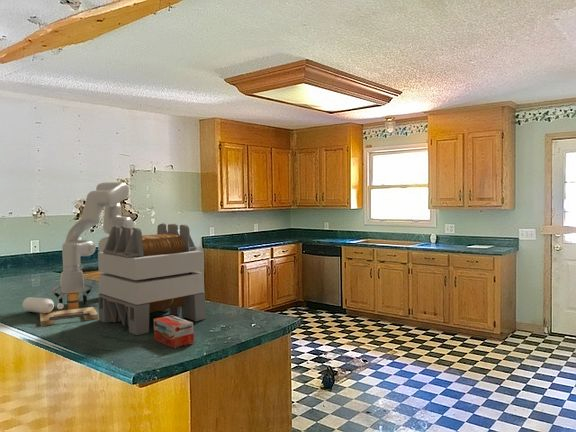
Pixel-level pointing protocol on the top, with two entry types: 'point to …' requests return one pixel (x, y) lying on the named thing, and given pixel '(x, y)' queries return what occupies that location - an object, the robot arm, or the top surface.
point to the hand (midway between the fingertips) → (73, 305)
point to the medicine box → (173, 331)
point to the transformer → (150, 276)
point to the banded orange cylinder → (73, 301)
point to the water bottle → (39, 305)
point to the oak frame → (68, 315)
